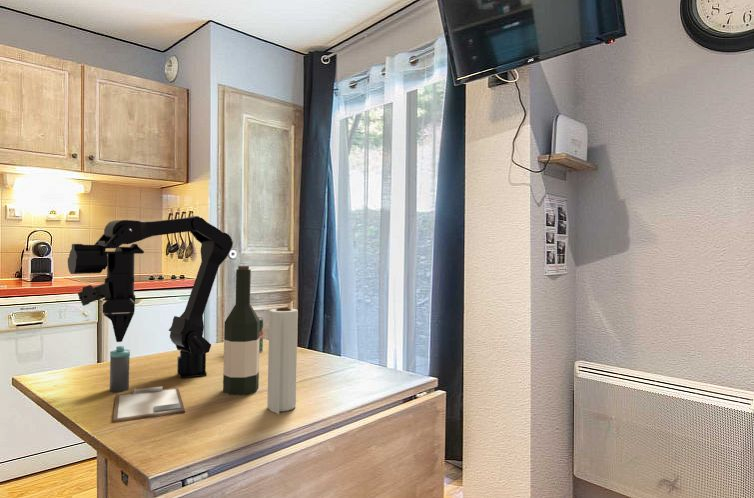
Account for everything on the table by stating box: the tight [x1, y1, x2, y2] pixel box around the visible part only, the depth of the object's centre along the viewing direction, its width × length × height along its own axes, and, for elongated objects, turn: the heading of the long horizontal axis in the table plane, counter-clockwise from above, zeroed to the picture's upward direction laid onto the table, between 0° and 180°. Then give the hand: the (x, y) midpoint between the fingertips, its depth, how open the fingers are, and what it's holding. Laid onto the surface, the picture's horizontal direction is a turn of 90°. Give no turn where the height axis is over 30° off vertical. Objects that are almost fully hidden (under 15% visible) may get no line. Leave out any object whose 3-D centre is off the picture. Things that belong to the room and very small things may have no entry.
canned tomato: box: [258, 316, 264, 354], centre depth 152 cm, size 8×8×11 cm
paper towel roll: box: [266, 307, 299, 416], centre depth 100 cm, size 7×6×21 cm
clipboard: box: [112, 385, 186, 423], centre depth 100 cm, size 13×17×1 cm
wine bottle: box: [222, 265, 260, 396], centre depth 111 cm, size 8×8×30 cm
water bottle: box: [109, 345, 131, 393], centre depth 110 cm, size 4×4×10 cm
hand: (120, 338), depth 110 cm, fingers open, 9 cm apart
